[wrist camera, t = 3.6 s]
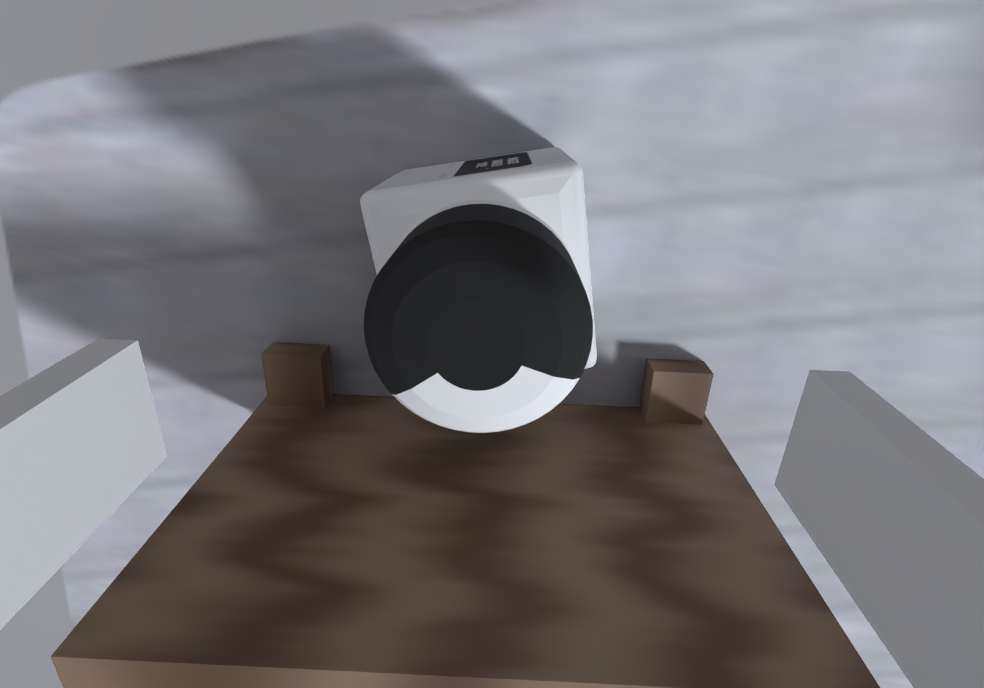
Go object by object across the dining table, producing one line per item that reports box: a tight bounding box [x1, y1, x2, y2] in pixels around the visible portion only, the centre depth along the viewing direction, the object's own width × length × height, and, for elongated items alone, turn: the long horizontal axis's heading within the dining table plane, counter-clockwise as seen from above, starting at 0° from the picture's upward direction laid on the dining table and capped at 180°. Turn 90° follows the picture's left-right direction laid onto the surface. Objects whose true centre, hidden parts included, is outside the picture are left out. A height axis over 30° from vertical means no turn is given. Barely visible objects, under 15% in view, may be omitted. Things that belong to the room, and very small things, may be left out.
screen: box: [51, 343, 880, 688], centre depth 23 cm, size 24×8×16 cm, turn 88°
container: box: [360, 147, 597, 433], centre depth 21 cm, size 8×8×13 cm
